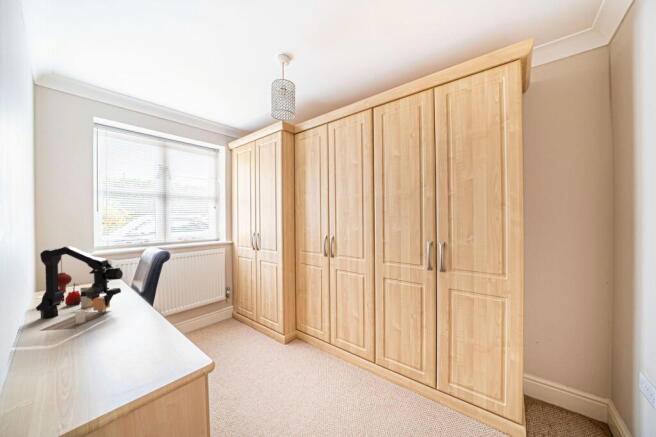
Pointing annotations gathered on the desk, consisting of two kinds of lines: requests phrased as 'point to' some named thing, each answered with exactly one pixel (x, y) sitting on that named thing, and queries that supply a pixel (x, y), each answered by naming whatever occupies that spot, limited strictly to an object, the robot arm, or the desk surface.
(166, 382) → the desk surface
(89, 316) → the walnut board
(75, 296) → the red clay folk toy
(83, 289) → the supplement box
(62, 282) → the lantern
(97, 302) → the peach wooden cube
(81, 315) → the white post
